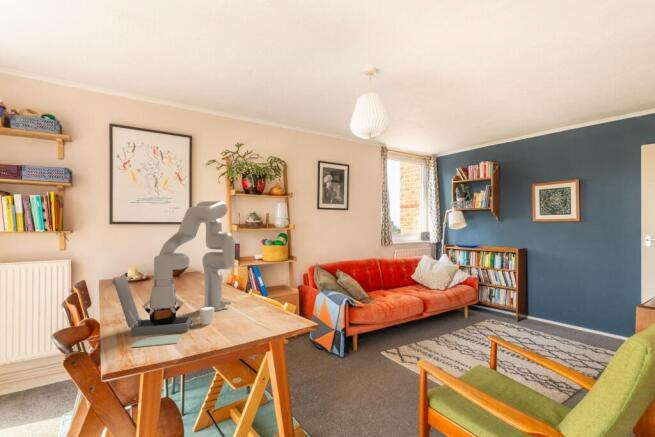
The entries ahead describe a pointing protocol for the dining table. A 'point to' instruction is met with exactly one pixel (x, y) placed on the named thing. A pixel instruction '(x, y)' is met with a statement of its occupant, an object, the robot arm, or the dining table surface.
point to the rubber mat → (156, 340)
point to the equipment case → (159, 326)
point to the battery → (162, 316)
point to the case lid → (126, 299)
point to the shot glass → (206, 315)
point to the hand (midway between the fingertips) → (163, 321)
